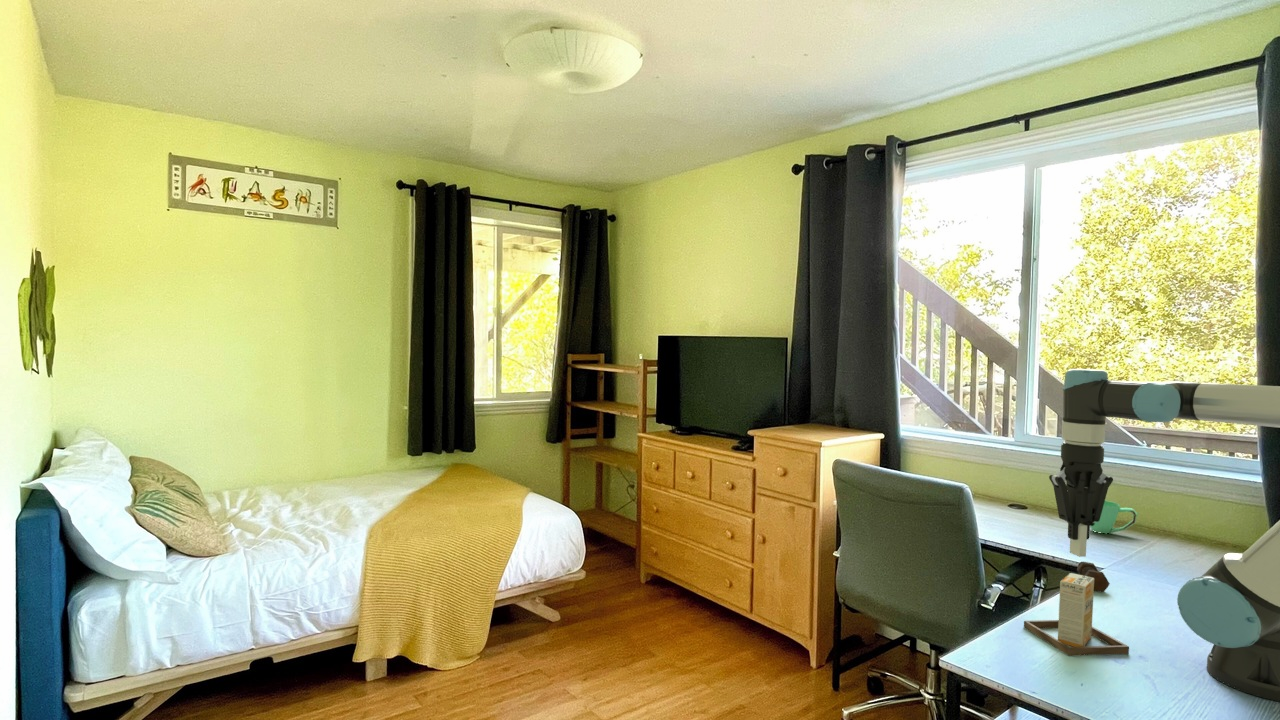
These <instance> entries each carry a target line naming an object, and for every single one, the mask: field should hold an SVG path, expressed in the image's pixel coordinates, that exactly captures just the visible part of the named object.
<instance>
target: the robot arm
mask: <svg viewBox="0 0 1280 720" xmlns="http://www.w3.org/2000/svg"><path fill="white" fill-rule="evenodd" d="M1064 374H1065V375H1064V383H1063V388H1062V392H1063V399H1062V400H1063V408H1062V421H1061V422H1062V423H1061V424H1062V425H1061V439H1062V440H1063V442H1062V443H1061V444H1060V458H1061V460H1062V464H1061V466H1060V468H1059V469H1060V470H1059V472H1057V473H1056V474H1050V475H1049V476H1048V478H1049V481H1050V482H1051V484H1052V486H1053V491H1054V497H1055V502H1056V508H1057V514H1058V518H1059V519H1060V520H1063V521H1065V522H1066V523H1067V524H1068V525H1067V537H1068V539H1069V553H1071V554H1072V555H1075V556H1077V557H1080V558H1081V557H1085V558H1086V557H1087V540H1090V539H1089V538H1090V529H1091V527H1090V526H1093V525H1094V524H1095V523H1093V522H1095V521H1096V522H1098V521H1099V520H1100V517H1101V513H1102V509H1103V506H1104V502H1105V501H1106V498H1107V495H1108V490H1109V487H1110V486H1111V485H1112V483H1113V481H1114V478H1113V476H1108V475H1106V474H1105V472H1104V471H1103V468H1102V464H1103V463H1104V461H1105V459H1104V458H1105V446H1104V445H1102V444H1104V443H1105V441H1106V418H1117V419H1124V420H1131V421H1132V420H1133V421H1134V420H1135V421H1141V422H1146V423H1170V422H1172V421H1174V419H1175V420H1186V421H1187V420H1188V421H1204V422H1217V423H1226V424H1234V425H1235V424H1238V425H1249V426H1261V427H1269V428H1270V427H1271V428H1280V386H1279V385H1257V384H1236V383H1235V384H1234V383H1215V382H1214V383H1213V382H1190V381H1189V382H1188V381H1185V380H1170V381H1130V380H1129V381H1126V380H1124V381H1123V380H1112V379H1109V377H1108V372H1107V371H1106V370H1102V369H1086V368H1085V369H1084V368H1072V369H1068V370H1067V371H1066V372H1065V373H1064ZM1093 514H1094V515H1093ZM1176 600H1177V607H1178V610H1179V615H1180V617H1182V620H1183V621H1184V623H1185V624H1186V625H1187V627H1189V629H1190V630H1191V631H1192V632H1193V633H1195V634H1196V636H1198V637H1200V638H1201V639H1203V640H1204V641H1206V642H1208V643H1210V644H1212V648H1211V651H1210V652H1209V653H1208V655H1207V659H1206V670H1207V672H1208V673H1209V674H1210V675H1211V676H1212V677H1213V678H1214V679H1216V680H1217V681H1219V682H1220V683H1222V684H1225V685H1227V686H1229V687H1231V688H1234V689H1235V690H1237V691H1241V692H1243V693H1247V694H1250V695H1252V696H1256V697H1259V698H1263V699H1268V700H1271V701H1276V702H1280V519H1279V520H1278V521H1277V522H1276V523H1275V524H1273V526H1271V527H1270V528H1269V529H1268V530H1267V531H1265V532H1264V534H1262V535H1261V537H1259V538H1258V539H1257V540H1255V542H1254V543H1253V544H1252V545H1251V546H1249V547H1248V548H1247V549H1246V550H1245V551H1244V552H1242V553H1240V552H1239V553H1238V552H1237V553H1235V552H1228V553H1226V554H1224V555H1223V556H1222V557H1220V559H1218V561H1216V562H1215V563H1214V564H1213V565H1212V566H1211V567H1210V568H1209V569H1208V570H1207V571H1205V573H1203V574H1202V575H1201V576H1198V577H1193V578H1192V579H1189V580H1188V581H1186V582H1185V583H1184V584H1183V585H1182V586H1181V587H1180V589H1179V591H1178V594H1177V599H1176Z"/></svg>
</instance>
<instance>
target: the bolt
mask: <svg viewBox="0 0 1280 720" xmlns="http://www.w3.org/2000/svg"><path fill="white" fill-rule="evenodd" d="M1076 570H1077V572H1078V575H1083V576H1087V577H1092V578H1094V592H1095V591H1101V592H1100V593H1104V592H1105V591H1106V590H1107V589H1108V588H1109V586H1110V582H1109V580H1108V579H1107V577H1106V575H1105V573H1104V572H1103V571H1099V570H1098V568H1097V567H1096V565H1095V564H1094V563H1093V562H1088V561H1080V562H1079V563H1078V565H1077V568H1076Z"/></svg>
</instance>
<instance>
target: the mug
mask: <svg viewBox="0 0 1280 720" xmlns="http://www.w3.org/2000/svg"><path fill="white" fill-rule="evenodd" d="M1125 512H1126V513H1132V520H1130V521H1129V522H1128V523H1126V524H1125V525H1124V526H1121V527H1120V526H1119V527H1115V528H1114V525H1115V524H1116V521H1117V519H1118V515H1119V514H1118V513H1125ZM1138 514H1139V513H1138V512H1137V511H1136V510H1135V509H1134V508H1131V507H1121V506H1120V503H1117V502H1114V501H1109V500H1105V502H1104V506H1103V509H1102V513H1101V517H1100V520H1099V521H1098V522H1096V521H1095V522H1093V523H1095V524H1094V525H1093V526H1090V529H1091V531H1092V530H1094V531H1096V532H1101V533H1109V534H1110V533H1116V532H1121V531H1125V530H1127V529H1128V528H1130V527H1132V526H1133V525H1135V524H1136V522H1137V518H1138ZM1093 515H1094V514H1093Z"/></svg>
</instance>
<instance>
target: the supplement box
mask: <svg viewBox="0 0 1280 720" xmlns="http://www.w3.org/2000/svg"><path fill="white" fill-rule="evenodd" d="M1094 592H1095V591H1094V578H1092V577H1087V576H1083V575H1080V574H1079V573H1078V574H1077V573H1072V572H1070V573H1068V574H1067V575H1066V576H1065V577H1063V578H1062V579H1061V580H1060V581H1059V603H1058V605H1059V606H1058V620H1059V623H1058V628H1057V640H1059V641H1061V642H1062V643H1064V644H1065V645H1067V646H1069V647H1085V646H1086V644H1087V643H1088V642H1089V640H1090V639H1092V635H1091V634H1092V627H1093V613H1094V612H1093V611H1094V594H1095V593H1094Z"/></svg>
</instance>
